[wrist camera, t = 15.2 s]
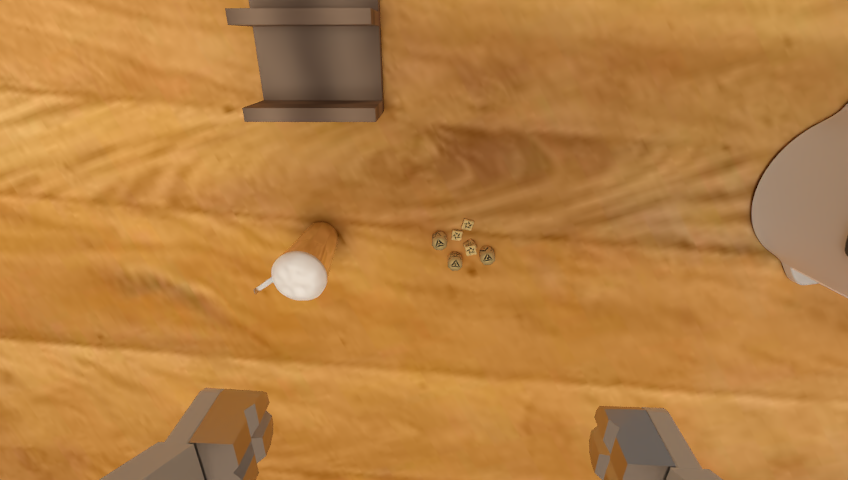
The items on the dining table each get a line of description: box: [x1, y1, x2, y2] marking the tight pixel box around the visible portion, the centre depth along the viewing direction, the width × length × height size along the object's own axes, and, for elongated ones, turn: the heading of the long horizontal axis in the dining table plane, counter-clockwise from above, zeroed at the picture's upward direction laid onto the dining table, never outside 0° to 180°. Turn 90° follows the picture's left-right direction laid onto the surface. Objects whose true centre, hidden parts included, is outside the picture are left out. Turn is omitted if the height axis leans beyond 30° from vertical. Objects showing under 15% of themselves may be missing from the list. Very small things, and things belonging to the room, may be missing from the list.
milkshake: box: [254, 222, 339, 300], centre depth 38 cm, size 5×5×10 cm
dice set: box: [432, 218, 495, 271], centre depth 43 cm, size 5×5×2 cm
